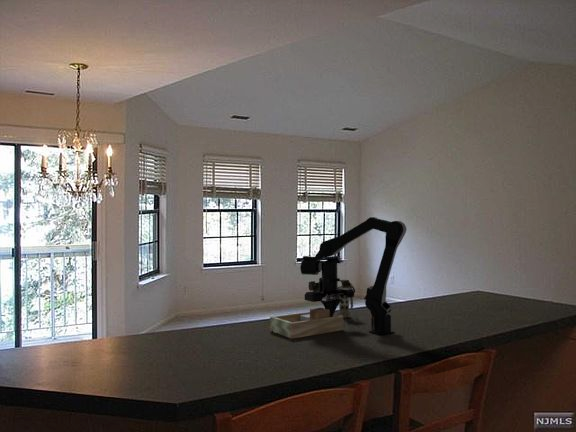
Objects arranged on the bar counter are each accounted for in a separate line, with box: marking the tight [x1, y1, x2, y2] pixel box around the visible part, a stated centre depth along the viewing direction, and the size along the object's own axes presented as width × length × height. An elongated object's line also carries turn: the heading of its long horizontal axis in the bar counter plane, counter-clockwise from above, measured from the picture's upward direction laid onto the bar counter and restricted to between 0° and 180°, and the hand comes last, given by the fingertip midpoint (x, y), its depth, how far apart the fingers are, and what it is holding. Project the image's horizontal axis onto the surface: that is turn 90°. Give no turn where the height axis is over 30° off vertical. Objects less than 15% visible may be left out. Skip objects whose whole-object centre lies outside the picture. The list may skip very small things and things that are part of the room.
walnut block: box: [309, 307, 330, 320], centre depth 181 cm, size 5×5×5 cm
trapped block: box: [300, 314, 310, 321], centre depth 186 cm, size 4×4×4 cm
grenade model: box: [337, 279, 356, 319], centre depth 204 cm, size 6×7×15 cm
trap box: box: [269, 311, 344, 339], centre depth 181 cm, size 14×22×5 cm, turn 123°
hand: (330, 318), depth 184 cm, fingers closed
